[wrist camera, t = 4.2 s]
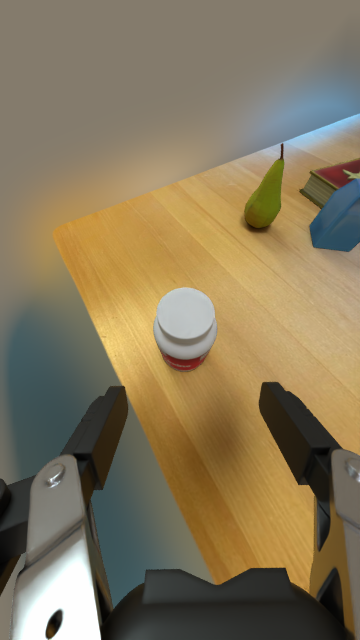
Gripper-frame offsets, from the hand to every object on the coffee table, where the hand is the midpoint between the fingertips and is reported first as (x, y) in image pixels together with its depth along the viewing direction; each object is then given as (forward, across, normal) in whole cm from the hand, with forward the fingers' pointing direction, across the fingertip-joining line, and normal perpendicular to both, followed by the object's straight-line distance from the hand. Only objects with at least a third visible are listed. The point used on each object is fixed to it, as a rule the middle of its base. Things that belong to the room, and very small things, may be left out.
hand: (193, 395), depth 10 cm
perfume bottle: (+28, +28, +11) cm, 41 cm away
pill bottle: (+13, 0, -4) cm, 14 cm away
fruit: (+32, +15, +14) cm, 38 cm away
